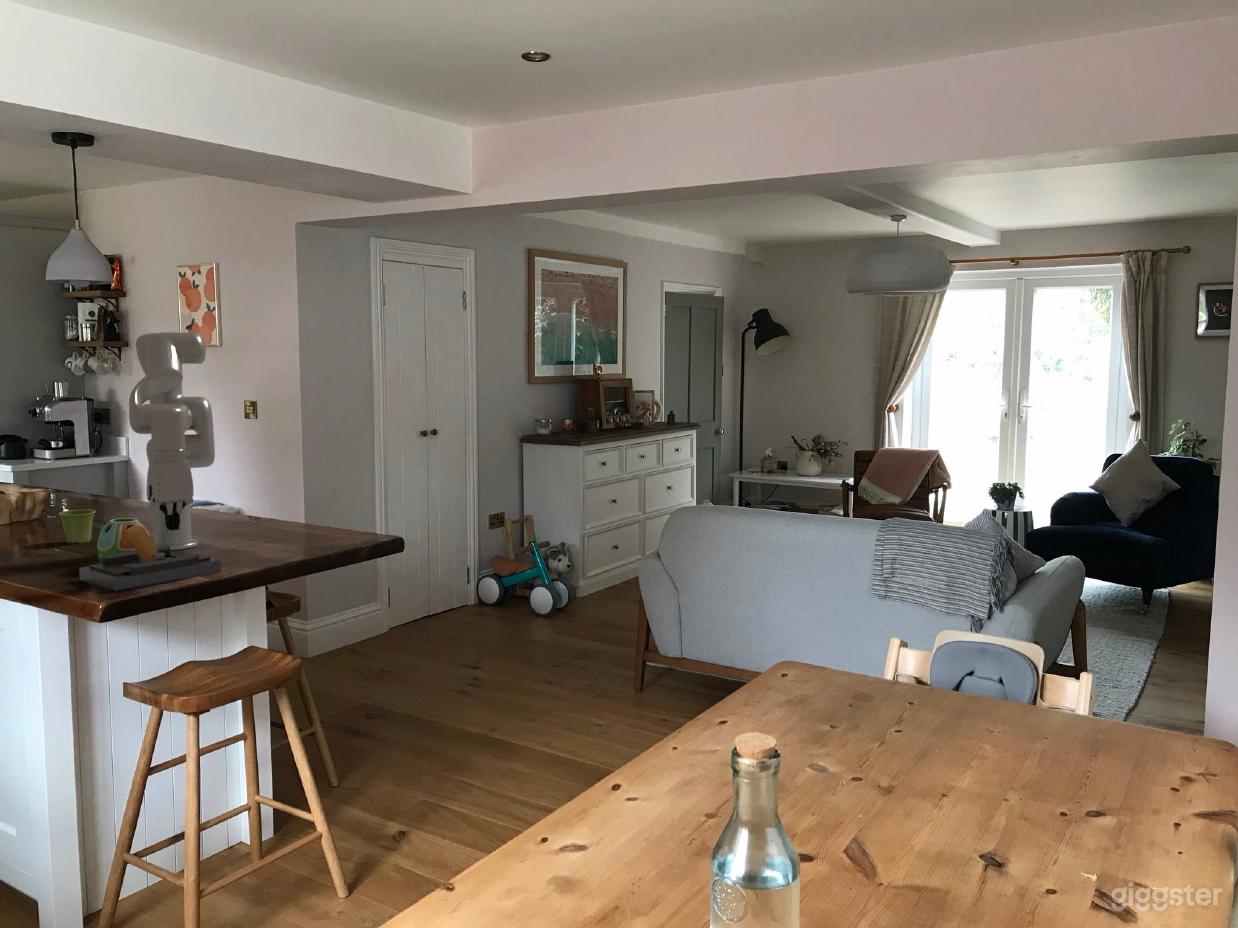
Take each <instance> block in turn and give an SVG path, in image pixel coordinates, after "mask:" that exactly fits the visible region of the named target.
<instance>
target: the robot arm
mask: <svg viewBox="0 0 1238 928" xmlns="http://www.w3.org/2000/svg"><path fill="white" fill-rule="evenodd" d="M135 341H136V342H135V350H136V355H137V358H138V361H139V365H140V367H141V368H142V371H143V373H144V375H145V376H144V377H142V378H141V380H139V381H138V382H137V384H136V385H135V386H134V387H133V388H132V390H131V392H130V396H129V400H128V416H129V419H128V420H129V421H128V422H129V425H130V428H131V429H132V431H133V432H134V433H135V434H136V433H137V434H139V435H148V434H149V435H151V438H150V439H149V440H148V441H147V443H146V457H147V463H148V469H147V475H146V499H147V501H149V505H148V507H149V509H152V511H153V512H152V515H153V517H152V518H153V530H154V531H153V532H152V536H153V537H154V541H152V542H153V544H154V546H155V548H157V547H164V546H168V547H170V551H180V550H185V549H190V548H194V547H196V546H198V543H199V540H197V539H195V538H192V517H191V516H192V515H191V505H192V504H193V503H194V499H193V498H194V491H195V490H194V481H193V480H194V479H193V474H192V469H197V468H200V469H201V468H208V467H211V466H212V465H213V464H214V462H215V458H216V450H215V436H214V435H215V434H214V433H215V432H214V422H213V421H214V419H213V411H212V406H211V404H210V401H209V400H208V399H207V398H206V397H202V396H184V394H183V381H184V380H183V379H184V376H183V374H184V373H183V365H188V364H189V365H191V364H193V365H195V364H196V365H197V364H198V365H201V364H203V363H204V362H205V359H206V357H207V356H206V355H207V347H206V341H205V339H204V337H203V335H202V334H200V333H197V332H179V331H178V332H175V331H174V332H171V331H170V332H168V331H166V332H164V331H163V332H153V333H152V332H151V333H146V334H144V333H143V334H141V335H139V336H138V337H137V339H136V340H135ZM147 401H149V403H146V402H147ZM187 431H194V432H195V433H196V434H195V433H194V434H186V432H187Z"/></svg>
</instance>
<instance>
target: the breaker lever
mask: <svg viewBox="0 0 1238 928" xmlns="http://www.w3.org/2000/svg"><path fill="white" fill-rule="evenodd" d="M144 527H145V526H144ZM144 527H141V526H136V525H133V526H132V527H130V528H128V529H127V530H125V531H126V533H127V534H128V536H129V538H130V540H131V541H132V543H133V545H134V547H135V549H136V550H137V552H138V554H139V556H140V557H141V559H142V561H145V562H153V554H158V551H157V550H156V548H155V546H154V544H153V542H154V541H153V540H152V539H151V536H150V534H149V532H148V530H147V529H146V530H147V531H146V530H145V528H146V527H145V528H144ZM147 532H148V533H147ZM148 534H149V535H148ZM149 536H150V537H149Z"/></svg>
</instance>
